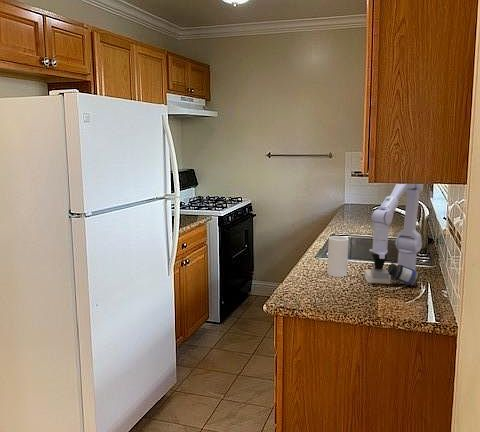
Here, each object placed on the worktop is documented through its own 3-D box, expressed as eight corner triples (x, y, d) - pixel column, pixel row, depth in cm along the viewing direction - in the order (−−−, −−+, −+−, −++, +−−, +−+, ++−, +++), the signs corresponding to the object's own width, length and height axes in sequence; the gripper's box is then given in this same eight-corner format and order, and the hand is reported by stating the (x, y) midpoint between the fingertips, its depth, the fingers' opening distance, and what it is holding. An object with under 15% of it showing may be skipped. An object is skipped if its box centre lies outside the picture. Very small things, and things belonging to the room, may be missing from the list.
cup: (334, 271, 208) (336, 235, 206) (350, 274, 202) (352, 238, 200) (323, 274, 202) (324, 237, 200) (339, 278, 197) (341, 240, 194)
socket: (364, 276, 200) (365, 269, 200) (386, 277, 199) (387, 270, 199) (367, 282, 192) (367, 275, 191) (390, 283, 190) (390, 276, 190)
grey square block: (371, 274, 192) (371, 268, 192) (386, 275, 192) (386, 269, 191) (373, 278, 186) (373, 272, 186) (388, 279, 186) (389, 273, 185)
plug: (390, 277, 199) (391, 263, 198) (399, 278, 199) (400, 264, 198) (392, 280, 196) (393, 266, 195) (401, 280, 195) (402, 266, 194)
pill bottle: (411, 282, 191) (385, 271, 192) (418, 269, 189) (392, 259, 190) (414, 288, 186) (387, 278, 187) (421, 275, 184) (394, 265, 184)
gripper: (368, 235, 198) (366, 266, 200) (372, 242, 184) (370, 276, 186) (385, 236, 197) (383, 267, 200) (391, 243, 183) (389, 277, 185)
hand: (378, 272), depth 193 cm, fingers closed
